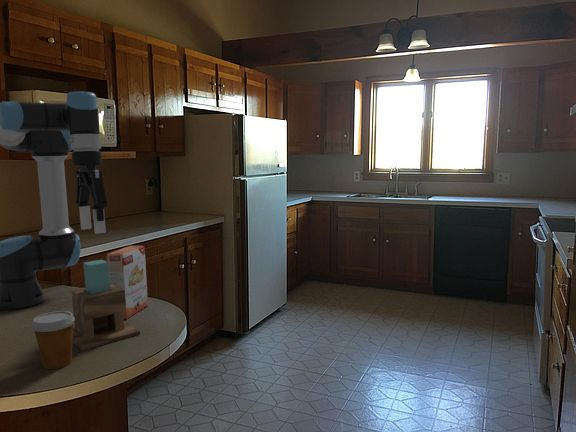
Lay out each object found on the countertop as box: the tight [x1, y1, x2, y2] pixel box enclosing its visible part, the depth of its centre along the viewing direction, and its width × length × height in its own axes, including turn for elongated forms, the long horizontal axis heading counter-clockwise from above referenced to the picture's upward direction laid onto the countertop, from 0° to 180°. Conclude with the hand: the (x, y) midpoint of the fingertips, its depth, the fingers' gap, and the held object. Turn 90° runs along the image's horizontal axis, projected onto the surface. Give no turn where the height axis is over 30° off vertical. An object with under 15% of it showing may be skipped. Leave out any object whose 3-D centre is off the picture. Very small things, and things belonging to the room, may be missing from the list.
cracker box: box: [106, 245, 149, 320], centre depth 153 cm, size 14×6×21 cm, turn 168°
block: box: [83, 259, 110, 295], centre depth 134 cm, size 5×5×12 cm
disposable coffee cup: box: [31, 310, 75, 370], centre depth 116 cm, size 10×10×12 cm
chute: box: [71, 283, 141, 352], centre depth 135 cm, size 16×16×13 cm
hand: (93, 231), depth 132 cm, fingers open, 10 cm apart
